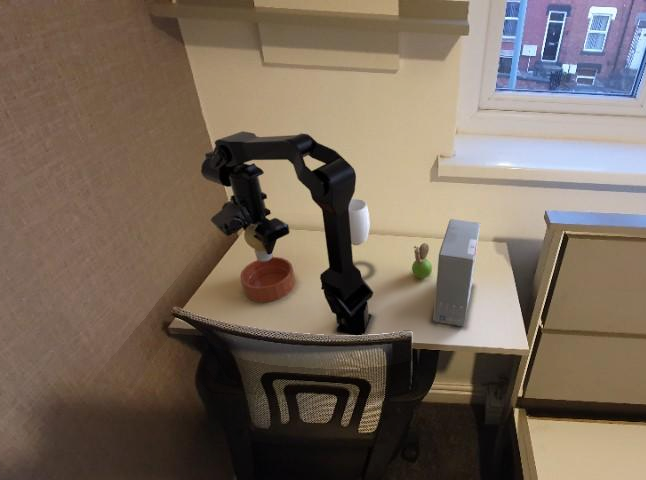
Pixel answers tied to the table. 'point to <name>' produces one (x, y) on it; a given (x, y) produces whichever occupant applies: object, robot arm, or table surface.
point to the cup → (358, 221)
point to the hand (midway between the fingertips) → (262, 248)
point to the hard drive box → (456, 272)
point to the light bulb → (256, 244)
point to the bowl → (268, 279)
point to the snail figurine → (421, 262)
